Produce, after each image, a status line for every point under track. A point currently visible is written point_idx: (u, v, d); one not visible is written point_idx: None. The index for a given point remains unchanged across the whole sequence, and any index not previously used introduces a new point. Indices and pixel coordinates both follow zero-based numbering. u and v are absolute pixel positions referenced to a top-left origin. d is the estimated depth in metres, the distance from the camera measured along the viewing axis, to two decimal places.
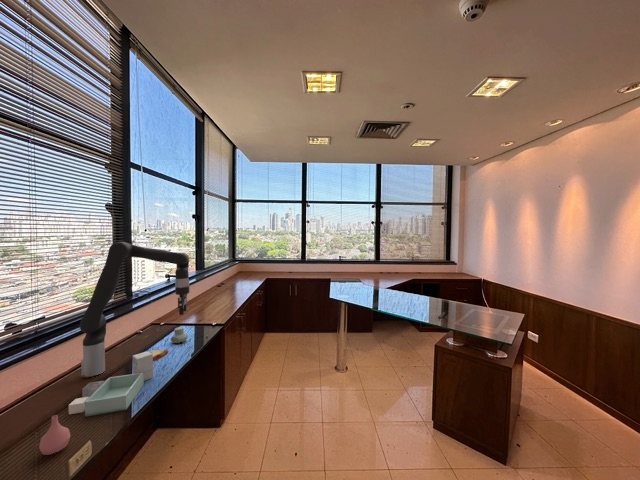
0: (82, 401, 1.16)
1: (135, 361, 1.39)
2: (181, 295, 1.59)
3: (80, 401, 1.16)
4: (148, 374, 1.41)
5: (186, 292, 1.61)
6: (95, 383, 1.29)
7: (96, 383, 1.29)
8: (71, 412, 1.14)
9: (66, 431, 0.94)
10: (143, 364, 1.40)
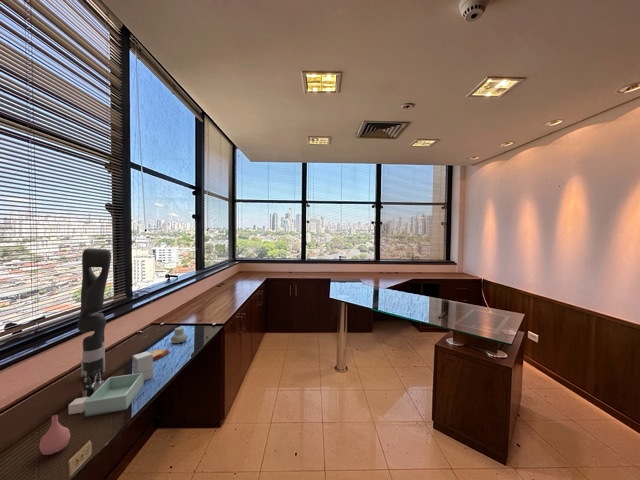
0: (82, 401, 1.16)
1: (135, 361, 1.39)
2: (89, 372, 1.25)
3: (80, 402, 1.16)
4: (148, 374, 1.41)
5: (97, 367, 1.26)
6: (95, 383, 1.29)
7: (96, 383, 1.29)
8: (71, 412, 1.14)
9: (66, 431, 0.94)
10: (143, 364, 1.40)
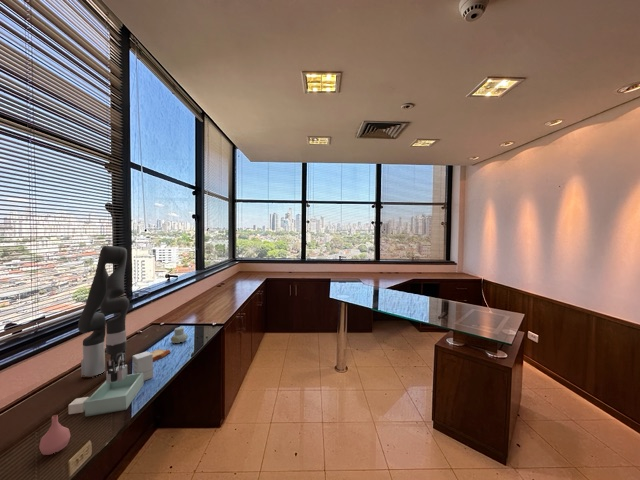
0: (82, 401, 1.16)
1: (135, 361, 1.39)
2: (113, 355, 1.21)
3: (80, 402, 1.16)
4: (148, 374, 1.41)
5: (120, 350, 1.23)
6: (119, 367, 1.25)
7: (119, 367, 1.25)
8: (71, 412, 1.14)
9: (66, 431, 0.94)
10: (143, 364, 1.40)
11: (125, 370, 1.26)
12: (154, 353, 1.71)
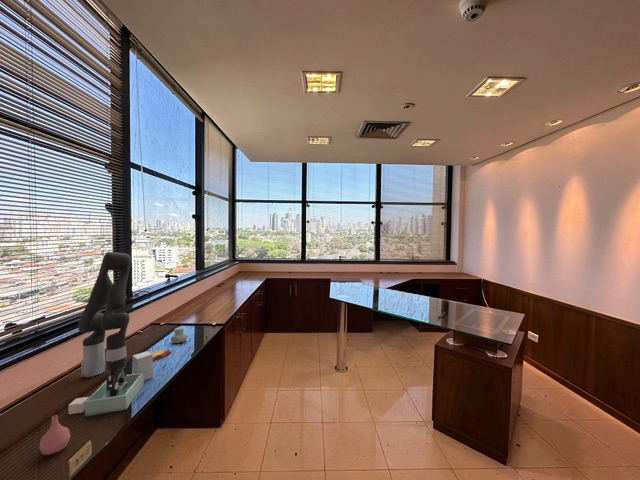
0: (82, 401, 1.16)
1: (135, 361, 1.39)
2: (113, 371, 1.20)
3: (80, 402, 1.16)
4: (148, 374, 1.41)
5: (120, 366, 1.22)
6: (118, 384, 1.25)
7: (119, 384, 1.25)
8: (71, 412, 1.14)
9: (66, 431, 0.94)
10: (143, 364, 1.40)
11: (125, 388, 1.26)
12: (154, 353, 1.71)
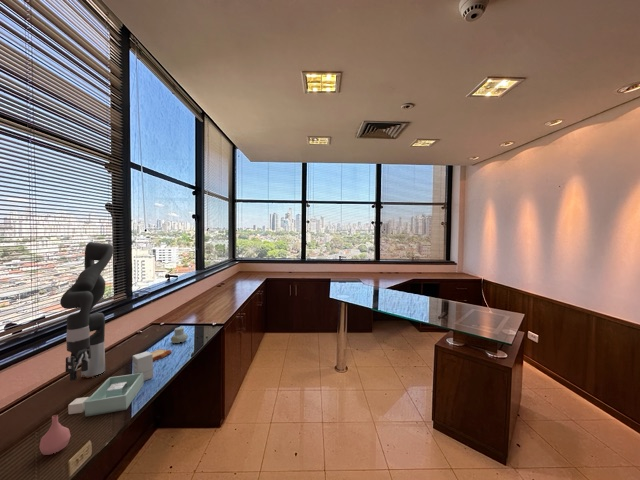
0: (82, 401, 1.16)
1: (135, 361, 1.39)
2: (73, 352, 1.13)
3: (80, 402, 1.16)
4: (148, 374, 1.41)
5: (82, 347, 1.15)
6: (118, 384, 1.25)
7: (119, 384, 1.25)
8: (71, 412, 1.14)
9: (66, 431, 0.94)
10: (143, 364, 1.40)
11: (125, 388, 1.26)
12: (155, 353, 1.71)
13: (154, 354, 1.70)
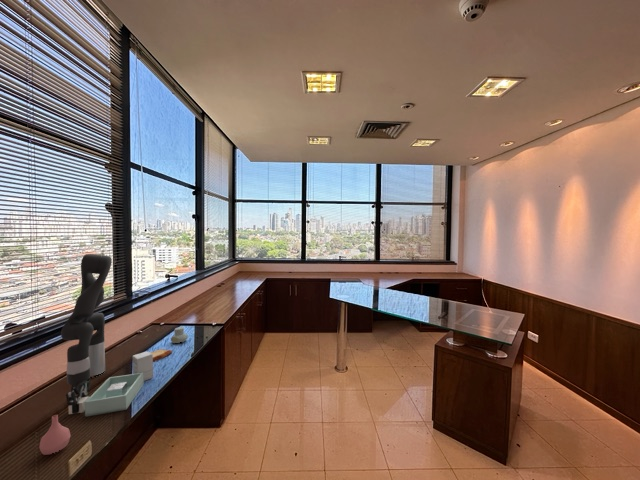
0: (82, 401, 1.16)
1: (135, 361, 1.39)
2: (74, 385, 1.13)
3: (80, 401, 1.16)
4: (148, 374, 1.41)
5: (82, 379, 1.15)
6: (118, 384, 1.25)
7: (119, 384, 1.25)
8: (71, 412, 1.14)
9: (66, 431, 0.94)
10: (143, 364, 1.40)
11: (125, 388, 1.26)
12: (155, 353, 1.71)
13: (154, 354, 1.70)
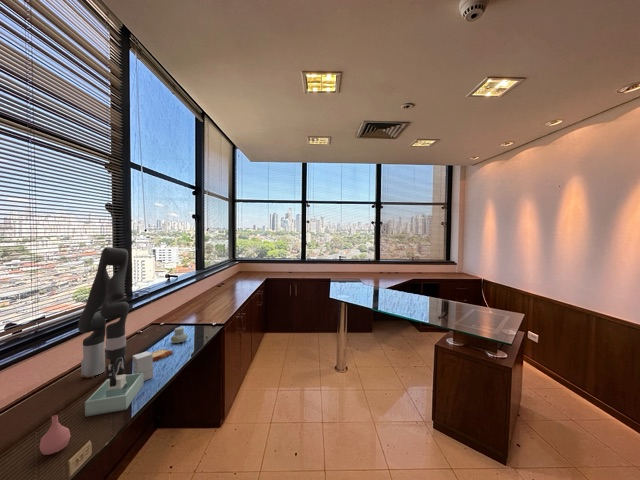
0: (120, 378, 1.23)
1: (135, 361, 1.39)
2: (113, 360, 1.21)
3: (118, 378, 1.23)
4: (148, 374, 1.41)
5: (120, 355, 1.22)
6: None
7: None
8: (110, 387, 1.21)
9: (66, 431, 0.94)
10: (143, 364, 1.40)
11: (125, 388, 1.26)
12: (156, 353, 1.71)
13: (155, 354, 1.70)
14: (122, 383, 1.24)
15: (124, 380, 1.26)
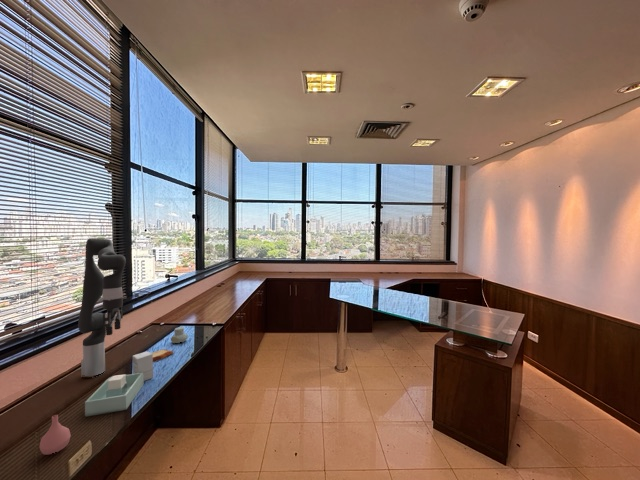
0: (120, 378, 1.23)
1: (135, 361, 1.39)
2: (109, 310, 1.23)
3: (118, 378, 1.23)
4: (148, 374, 1.41)
5: (117, 306, 1.25)
6: None
7: None
8: (110, 387, 1.21)
9: (66, 431, 0.94)
10: (143, 364, 1.40)
11: (125, 388, 1.26)
12: (157, 353, 1.71)
13: (155, 354, 1.69)
14: (122, 383, 1.24)
15: (124, 380, 1.26)
